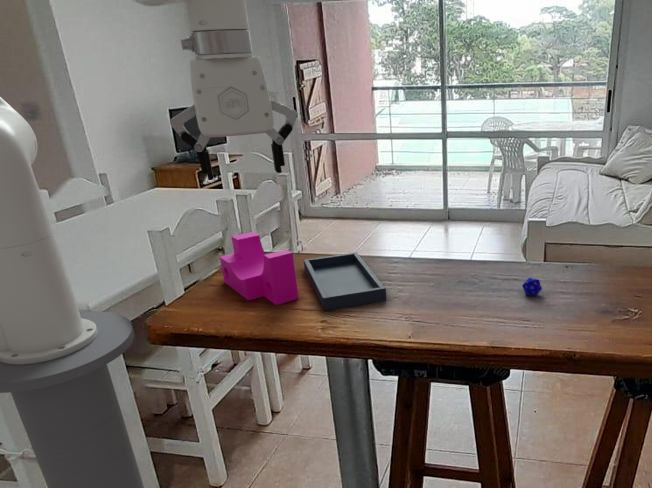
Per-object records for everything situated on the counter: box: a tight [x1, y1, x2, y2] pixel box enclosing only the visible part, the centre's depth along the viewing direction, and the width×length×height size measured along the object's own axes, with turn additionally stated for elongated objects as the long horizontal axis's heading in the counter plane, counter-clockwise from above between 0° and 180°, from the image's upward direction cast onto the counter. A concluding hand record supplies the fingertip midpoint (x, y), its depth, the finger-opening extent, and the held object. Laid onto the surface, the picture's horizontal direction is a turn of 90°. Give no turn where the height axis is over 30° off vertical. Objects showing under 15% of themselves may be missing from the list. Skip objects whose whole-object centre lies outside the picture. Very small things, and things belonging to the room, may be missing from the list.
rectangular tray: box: [303, 252, 387, 311], centre depth 93 cm, size 10×19×2 cm, turn 19°
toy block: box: [219, 231, 299, 306], centre depth 91 cm, size 15×6×8 cm, turn 38°
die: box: [521, 277, 543, 297], centre depth 87 cm, size 3×3×3 cm
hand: (245, 174), depth 84 cm, fingers open, 9 cm apart
